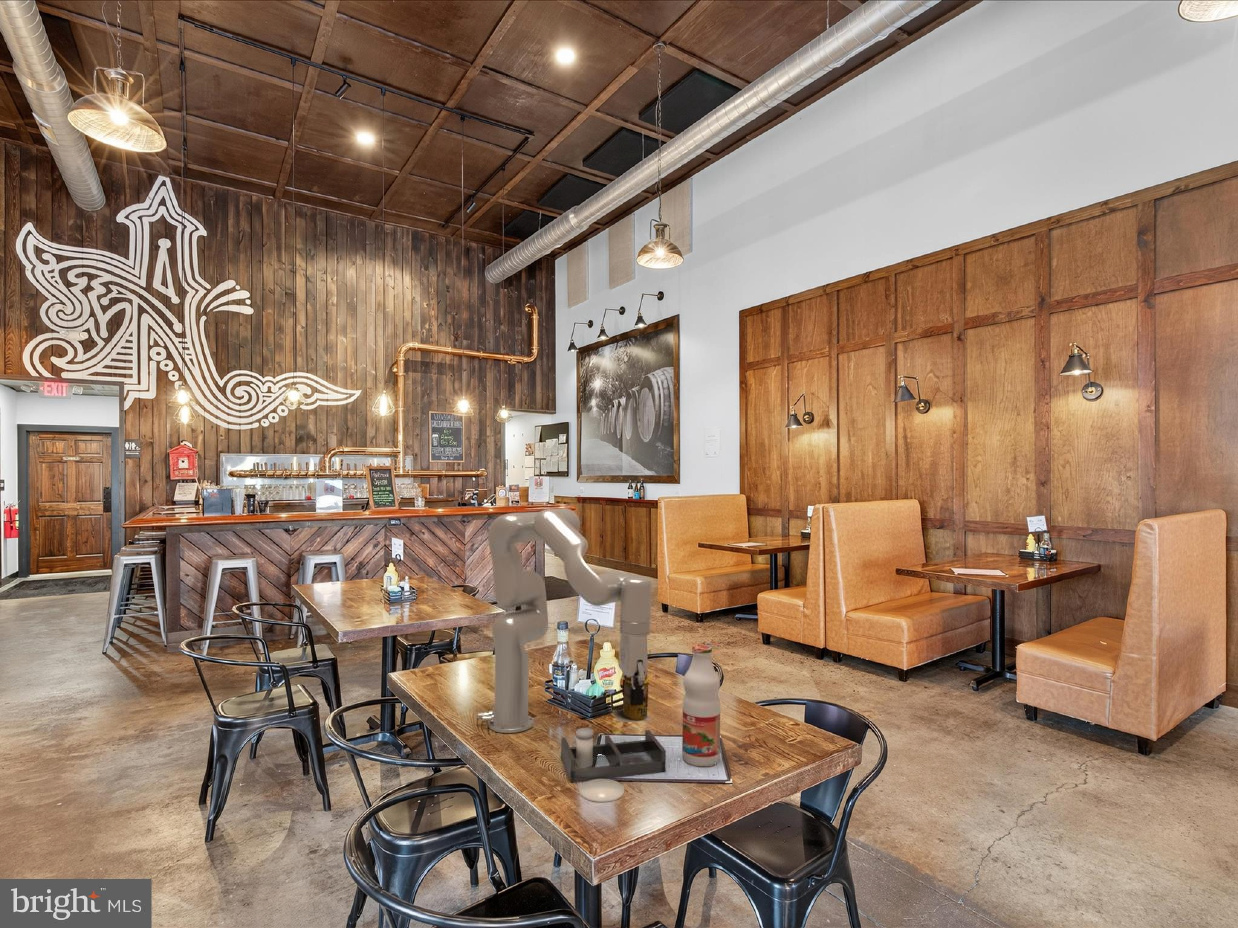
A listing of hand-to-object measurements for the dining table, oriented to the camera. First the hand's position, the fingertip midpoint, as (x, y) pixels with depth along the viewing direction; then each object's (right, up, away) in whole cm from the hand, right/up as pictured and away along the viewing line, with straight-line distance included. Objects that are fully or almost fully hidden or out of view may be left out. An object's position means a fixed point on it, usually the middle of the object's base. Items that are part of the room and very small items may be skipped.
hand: (632, 699), depth 155 cm
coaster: (-7, -15, -15) cm, 22 cm away
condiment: (0, -4, 0) cm, 4 cm away
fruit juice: (+17, -16, +2) cm, 23 cm away
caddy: (-5, -15, -2) cm, 16 cm away
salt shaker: (-12, -15, -2) cm, 19 cm away
